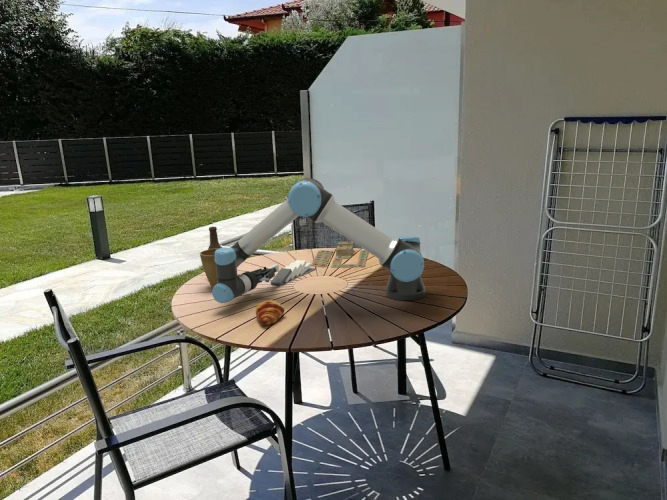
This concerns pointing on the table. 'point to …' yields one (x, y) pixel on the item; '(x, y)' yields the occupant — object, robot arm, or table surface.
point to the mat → (309, 270)
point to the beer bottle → (213, 238)
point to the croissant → (269, 312)
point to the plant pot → (209, 265)
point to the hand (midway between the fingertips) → (277, 267)
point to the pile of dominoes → (339, 257)
